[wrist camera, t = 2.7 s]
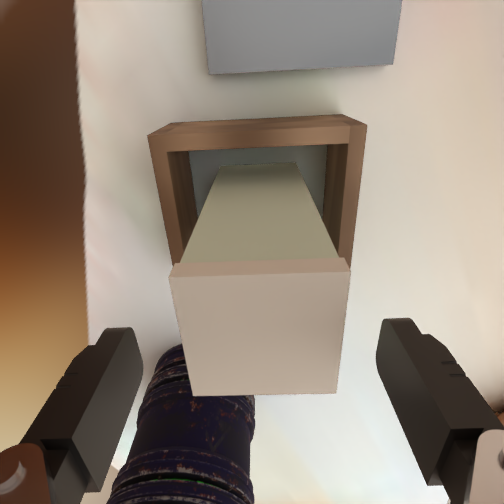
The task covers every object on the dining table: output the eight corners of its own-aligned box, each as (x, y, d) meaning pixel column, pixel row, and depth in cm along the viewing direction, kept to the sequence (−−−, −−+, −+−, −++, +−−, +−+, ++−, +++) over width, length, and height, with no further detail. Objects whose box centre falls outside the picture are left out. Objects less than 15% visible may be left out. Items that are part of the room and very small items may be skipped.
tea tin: (297, 160, 21) (350, 271, 9) (295, 232, 23) (335, 393, 11) (218, 164, 21) (168, 277, 9) (225, 234, 24) (193, 395, 12)
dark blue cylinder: (150, 401, 33) (80, 615, 20) (157, 332, 28) (71, 551, 15) (244, 415, 34) (236, 628, 21) (265, 350, 29) (273, 572, 16)
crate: (342, 114, 19) (367, 124, 15) (330, 262, 25) (346, 302, 20) (171, 122, 20) (147, 135, 15) (194, 267, 25) (181, 307, 20)
